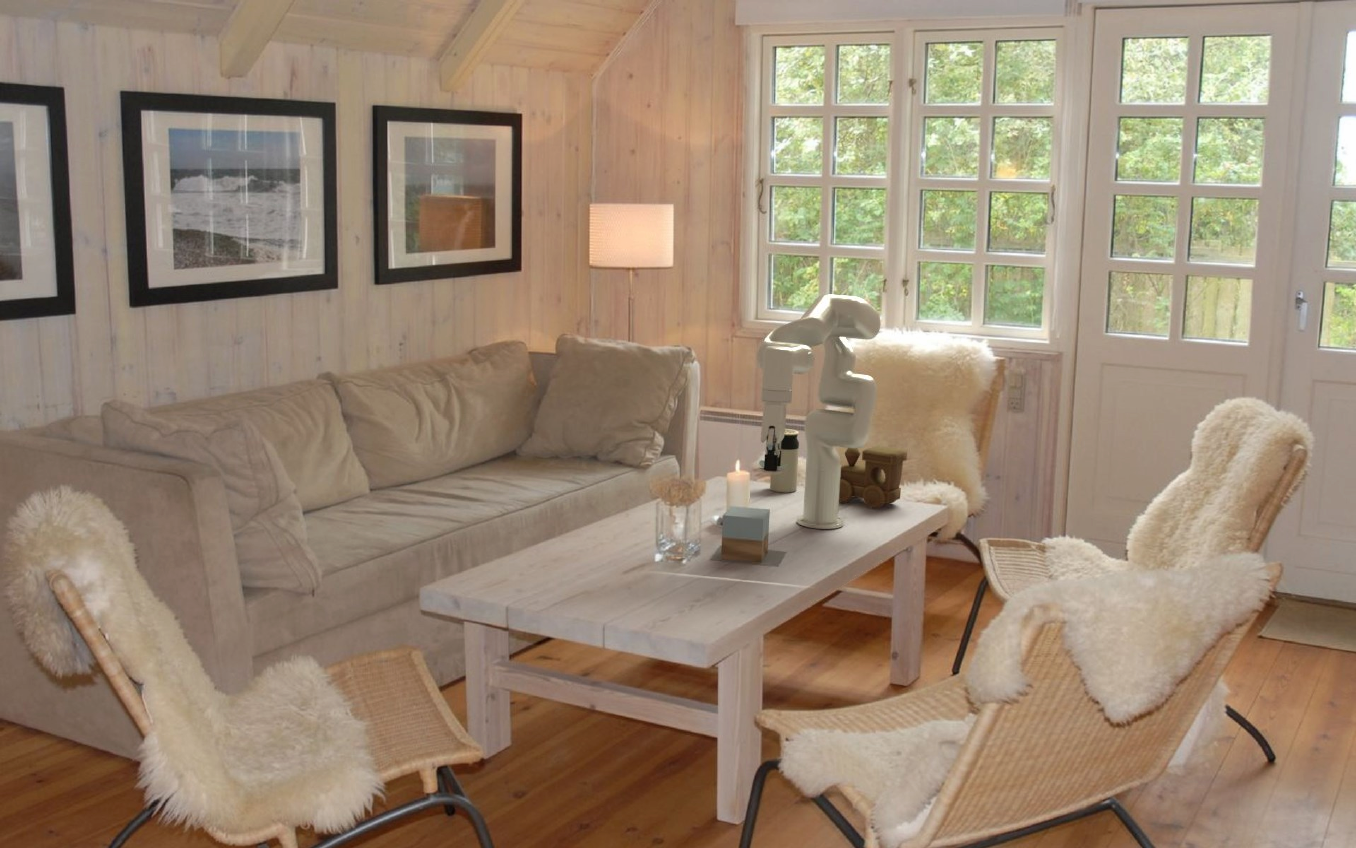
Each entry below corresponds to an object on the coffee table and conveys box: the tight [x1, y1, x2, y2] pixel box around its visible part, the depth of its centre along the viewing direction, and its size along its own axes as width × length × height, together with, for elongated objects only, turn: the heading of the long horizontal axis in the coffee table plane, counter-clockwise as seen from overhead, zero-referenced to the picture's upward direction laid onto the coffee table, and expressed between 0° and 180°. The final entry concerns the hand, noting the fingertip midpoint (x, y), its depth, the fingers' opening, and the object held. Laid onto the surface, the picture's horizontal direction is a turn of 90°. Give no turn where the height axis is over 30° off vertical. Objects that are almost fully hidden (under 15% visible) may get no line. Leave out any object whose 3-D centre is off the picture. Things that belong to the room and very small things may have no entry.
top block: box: [721, 505, 771, 541], centre depth 346 cm, size 10×10×6 cm
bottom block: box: [721, 530, 770, 563], centre depth 347 cm, size 10×10×6 cm
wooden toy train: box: [839, 446, 908, 510], centre depth 408 cm, size 20×11×17 cm, turn 55°
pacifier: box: [757, 448, 787, 475], centre depth 347 cm, size 7×6×6 cm
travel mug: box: [769, 428, 800, 494], centre depth 421 cm, size 8×8×18 cm
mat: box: [709, 544, 787, 568], centre depth 348 cm, size 14×17×1 cm
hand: (772, 467), depth 348 cm, fingers closed on pacifier, 5 cm apart
